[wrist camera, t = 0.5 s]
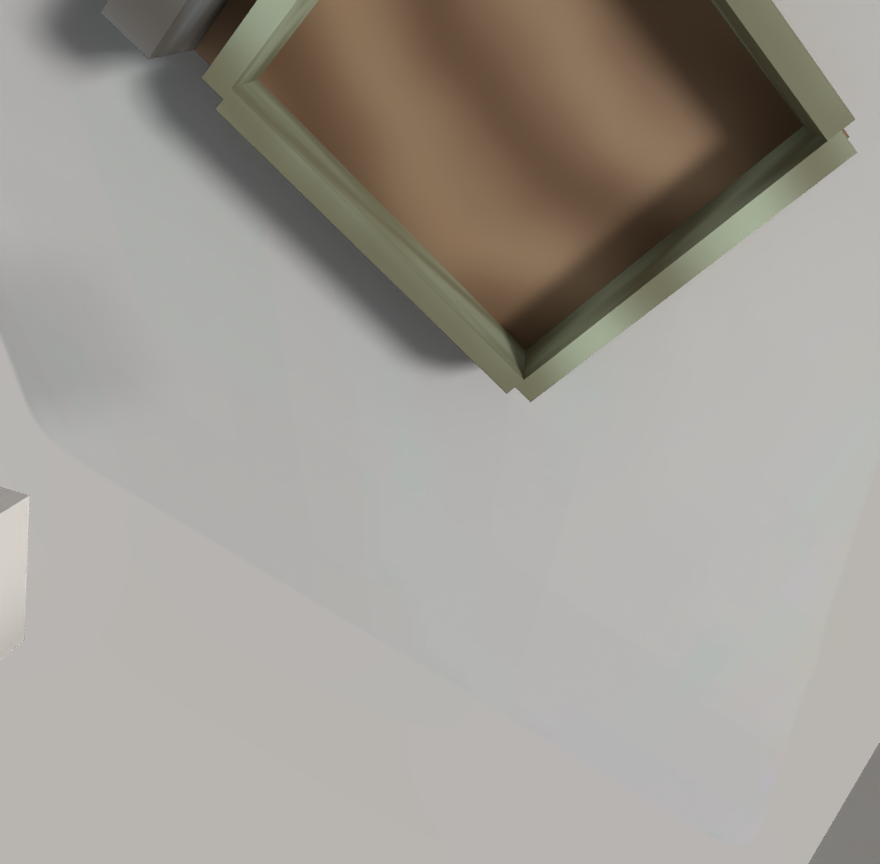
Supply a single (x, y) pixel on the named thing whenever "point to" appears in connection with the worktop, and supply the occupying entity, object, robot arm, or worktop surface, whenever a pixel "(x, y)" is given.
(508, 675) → the worktop surface
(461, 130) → the wooden drawer tray
